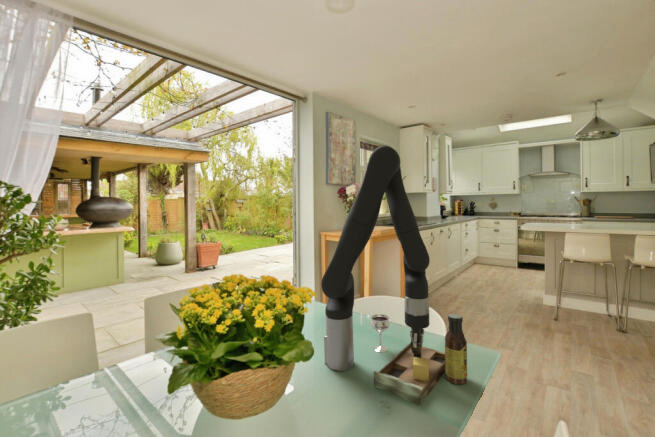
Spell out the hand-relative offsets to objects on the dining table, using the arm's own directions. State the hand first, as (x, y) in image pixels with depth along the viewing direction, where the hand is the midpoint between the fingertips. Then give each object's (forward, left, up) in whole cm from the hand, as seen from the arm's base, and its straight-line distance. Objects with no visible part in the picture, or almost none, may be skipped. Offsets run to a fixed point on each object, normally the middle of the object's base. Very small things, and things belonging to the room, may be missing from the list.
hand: (417, 362), depth 97 cm
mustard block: (+3, -4, -2) cm, 5 cm away
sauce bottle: (+11, +4, -4) cm, 12 cm away
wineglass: (-17, +7, -4) cm, 19 cm away
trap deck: (-1, 0, -4) cm, 4 cm away
